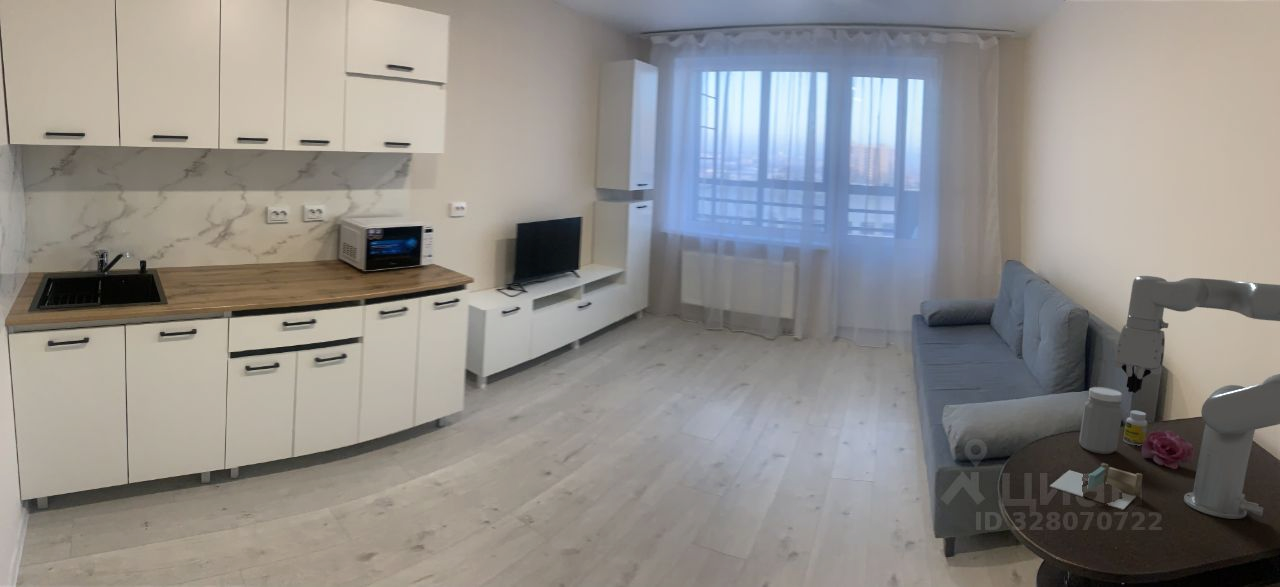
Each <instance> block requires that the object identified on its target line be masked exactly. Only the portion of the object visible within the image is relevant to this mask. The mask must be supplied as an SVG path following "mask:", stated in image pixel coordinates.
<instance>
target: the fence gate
mask: <svg viewBox="0 0 1280 587" xmlns="http://www.w3.org/2000/svg"><path fill="white" fill-rule="evenodd" d="M1105 472H1106V468H1103V467H1101V466H1099V467H1098V468H1097V469H1096V470H1094V471H1093V472H1091V473H1089V474H1088V476H1089V478H1088V485H1087V489H1088V488H1090V489H1093V488H1094V487H1096V486H1098V485H1100V484H1102V483H1103V482H1104V476H1105Z"/></svg>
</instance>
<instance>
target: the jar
mask: <svg viewBox="0 0 1280 587" xmlns="http://www.w3.org/2000/svg"><path fill="white" fill-rule="evenodd" d="M1088 395H1089V396H1088V397H1087V398H1088V400H1086V401H1085V402H1084V405H1083V411H1082V412H1083V413H1082V419H1081V426H1080V433H1079V439H1078V440H1079V444H1080V446H1081V447H1082V448H1083V449H1085V450H1087V451H1088V452H1089V451H1090V452H1092V453H1095V454H1101V455H1110V454H1112V453H1114V452H1116V451H1117V449H1118V445H1119V444H1118V443H1119V438H1120V437H1119V436H1120V430H1121V425H1122V424H1121V423H1122V418H1123V408H1122V407H1121V406H1122V402H1121V401H1122V399H1123V393H1122V392H1121V391H1119V390H1117V389H1113V388H1109V387H1102V386H1093V387H1090V388H1089V389H1088Z"/></svg>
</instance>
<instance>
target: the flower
mask: <svg viewBox="0 0 1280 587" xmlns="http://www.w3.org/2000/svg"><path fill="white" fill-rule="evenodd" d="M1140 453H1141V456H1142V457H1143V458H1145V459H1150V458H1151V460H1153V462H1155V463H1156V464H1157V465H1159V466H1163V465H1164V467H1168V468H1170V469H1173V470H1175V469H1178V467H1179V463H1178V462H1182V463H1186V464H1187V463H1191V461H1193V459H1194V457H1195V456H1194V455H1195V450H1194V447H1193V444H1192V443H1190V442H1187V441H1186V440H1185V439H1184V438H1183V437H1182V436H1180V435H1179V434H1176V432H1175V431H1173V430H1170V429H1168V430H1166V431H1163V430H1162V429H1161V430H1156V431H1150V432H1149V433H1148V435H1147V436H1145V440H1144V442H1143V444H1142V446H1141V452H1140Z"/></svg>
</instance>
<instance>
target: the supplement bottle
mask: <svg viewBox="0 0 1280 587" xmlns="http://www.w3.org/2000/svg"><path fill="white" fill-rule="evenodd" d="M1146 417H1147V413H1146V412H1143V411H1140V410H1135V409H1134V410H1130V413H1129V417H1127V419H1126V420H1125V426H1124V433H1123V439H1122V440H1123V442H1125V443H1126V444H1128V445H1130V446H1135V445H1137V446H1136V447H1140V446H1141V445H1142V444H1143V442H1144V440H1145V439H1146V437H1147V436H1146V434H1147V428H1148V421H1147V420H1146ZM1141 447H1142V446H1141Z"/></svg>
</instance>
